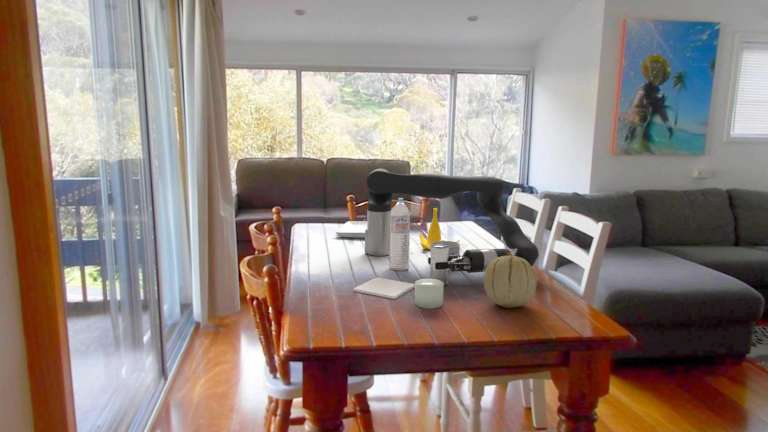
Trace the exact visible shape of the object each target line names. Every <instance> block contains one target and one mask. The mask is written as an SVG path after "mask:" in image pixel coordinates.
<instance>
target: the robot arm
mask: <svg viewBox="0 0 768 432" xmlns="http://www.w3.org/2000/svg"><path fill="white" fill-rule="evenodd" d="M365 183H366V186H367V188H368V199H367V204H366V205H367V208H366V209H367V210H366V211H367V212H366V213H367V214H366V215H367V216H366V217H367V218H366V221H367V229H365V238H364V253H365V254H367V255H370V256H376V257H377V256H379V257H382V256H390V232H391V209H392V202H393V194H397V195H398V194H401V195H407V196H408V195H409V196H414V197H421V198H426V199H438V200H444V199H447V198H450V197H453V196H455V195H458V194H461V193H467V192H468V193H476V194H477V197H476V199H477V202H478V204H479V205H480V206H481V208H482V210H483V212H485V213H486V214H487V216H488V217H489V218H490V220H491V221H492V222H493V224H494V225H495V226H496V228H497V231H498V232H499V234H500V235H501V238H502V239H503V241H504V243H505V245H506V246H507V248H508V249H507V248H493V249H491V248H476V249H474V248H473V249H466V250H465V251H464V252H463V254H462V255H461V254H460V255H457V254H456V255H454V253H449V255H448V262H436V263H435V269H436V270H441V269H447V270H448V271H451V272H467V273H468V274H473V273H485V271H486V269H487V267H488V265H489V264H490V263H491V262H492V261H493V260H494V259H496V258H498V257H501V256H508V255H507V254H506V252H509V253H511V254H512V252H511V250H516V251H515V253H514V255H513V256H517V257H520V258H523V259H525V260H526V261H528V263H529V264H530V265H531V266H532V267H534V265H535V263H536V261H538V260H537V259H538V258H539V256H540V254H539V249H538V247H537V245H536V244H534V242H533V241H532V240H530V239H529V238H528V236H526V235H525V234H524V231H523V230H522V229H521V226H520V224H519V223H518V222H517V220H516V219H515V218H513V217H512V216H510V215H509V214H507V213H506V212H505V210H504V207H503V204H502V201H503V194H504V189H505V184H504V181H503V180H502V179H500V178H498V177H495V176H488V175H487V176H485V175H484V176H478V175H477V176H473V175H472V176H464V175H463V176H462V175H461V176H460V175H446V174H438V173H411V174H402V173H393V172H389V170H387V169H385V168H376V169H373V170H372V171H371V172H369V174H368V175H367V177H366V181H365ZM510 249H511V250H510ZM427 264H428V265H430V264H431V256H429V257H428V258H427Z"/></svg>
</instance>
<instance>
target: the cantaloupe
mask: <svg viewBox="0 0 768 432" xmlns="http://www.w3.org/2000/svg"><path fill="white" fill-rule="evenodd" d="M506 254H507V255H508V256H501V257H498V258H496V259H494V260H493V261H492V262H491V263H490V264H489V265H488V267H487V269H486V271H485V272H484V275H483V288H484V290H485V293H486V296H488V298H489V299H490V300H491V301H492V302H493V303H495V304H496V305H498V306H500V307H503V308H508V309H512V308H518V307H521V306H524V305H526V304H527V303H529V302H530V301H531V299H533V297H534V295H535V294H536V289H537V286H538V285H537V284H538V283H537V282H538V281H537V274H536V272H535V269H534V268H533V267H534V266H533V267H532V266H531V265H530V264H529V263H528V261H526V260H525V259H523V258H520V257H517V256H514V255H513V253H512V252H511V253H509V252H506Z"/></svg>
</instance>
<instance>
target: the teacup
mask: <svg viewBox="0 0 768 432" xmlns="http://www.w3.org/2000/svg"><path fill="white" fill-rule="evenodd" d="M434 244H443V245H447V246H449V253H454V255H456V254H457V255H460V256H461V254H460V249H461V248H460V247H461V244H460V242H456V241H452V240H444V239H441V241H437V242H433V243H431V244H430V249H429V250H430V255H431V246H432V245H434Z"/></svg>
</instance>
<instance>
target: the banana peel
mask: <svg viewBox="0 0 768 432" xmlns="http://www.w3.org/2000/svg"><path fill="white" fill-rule="evenodd" d="M432 209H433V210H432V211H433V214H432V215H433V216H432V217H433V218H432V221H431V222H430V225H429V227H428V228H429V229H428V233H427V239H426V237H424V235H423V234H419V238H420V242H421V248H422V249H425V250H430V244H431V243H433V242H437V241H441V240H442V234H441V227H440V223H439V220H438V210H439V209H438V207H434V208H432ZM460 241H461V240H460V239H458V240H456V241H455V242H458V243H460Z"/></svg>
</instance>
